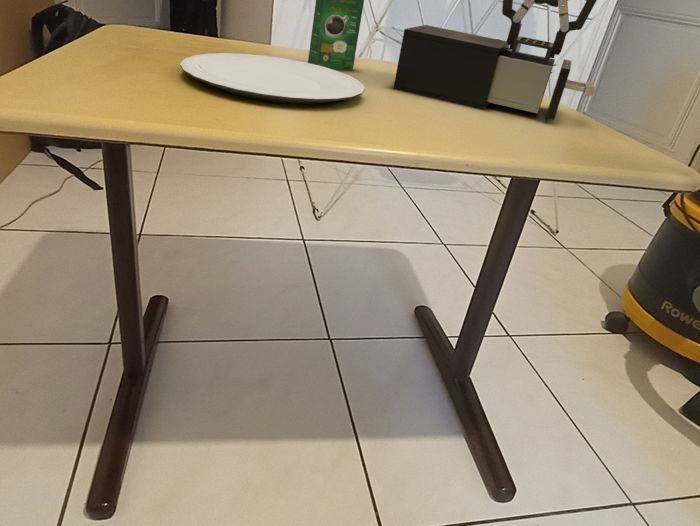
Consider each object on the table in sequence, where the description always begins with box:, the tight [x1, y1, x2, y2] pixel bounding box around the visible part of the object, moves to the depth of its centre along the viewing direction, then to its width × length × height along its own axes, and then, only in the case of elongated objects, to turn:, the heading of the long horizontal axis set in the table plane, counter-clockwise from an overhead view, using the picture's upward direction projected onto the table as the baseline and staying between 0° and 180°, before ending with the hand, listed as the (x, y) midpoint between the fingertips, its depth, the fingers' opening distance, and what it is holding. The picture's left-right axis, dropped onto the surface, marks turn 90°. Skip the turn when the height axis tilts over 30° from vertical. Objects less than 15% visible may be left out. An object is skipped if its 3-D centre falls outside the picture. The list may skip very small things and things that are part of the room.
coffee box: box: [307, 0, 365, 72], centre depth 92 cm, size 8×3×13 cm, turn 125°
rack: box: [510, 35, 554, 64], centre depth 85 cm, size 6×8×2 cm
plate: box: [179, 52, 365, 105], centre depth 77 cm, size 25×25×2 cm
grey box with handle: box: [487, 49, 595, 121], centre depth 87 cm, size 18×12×7 cm
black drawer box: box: [393, 24, 510, 111], centre depth 90 cm, size 15×14×9 cm
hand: (531, 52), depth 85 cm, fingers closed on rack, 5 cm apart
